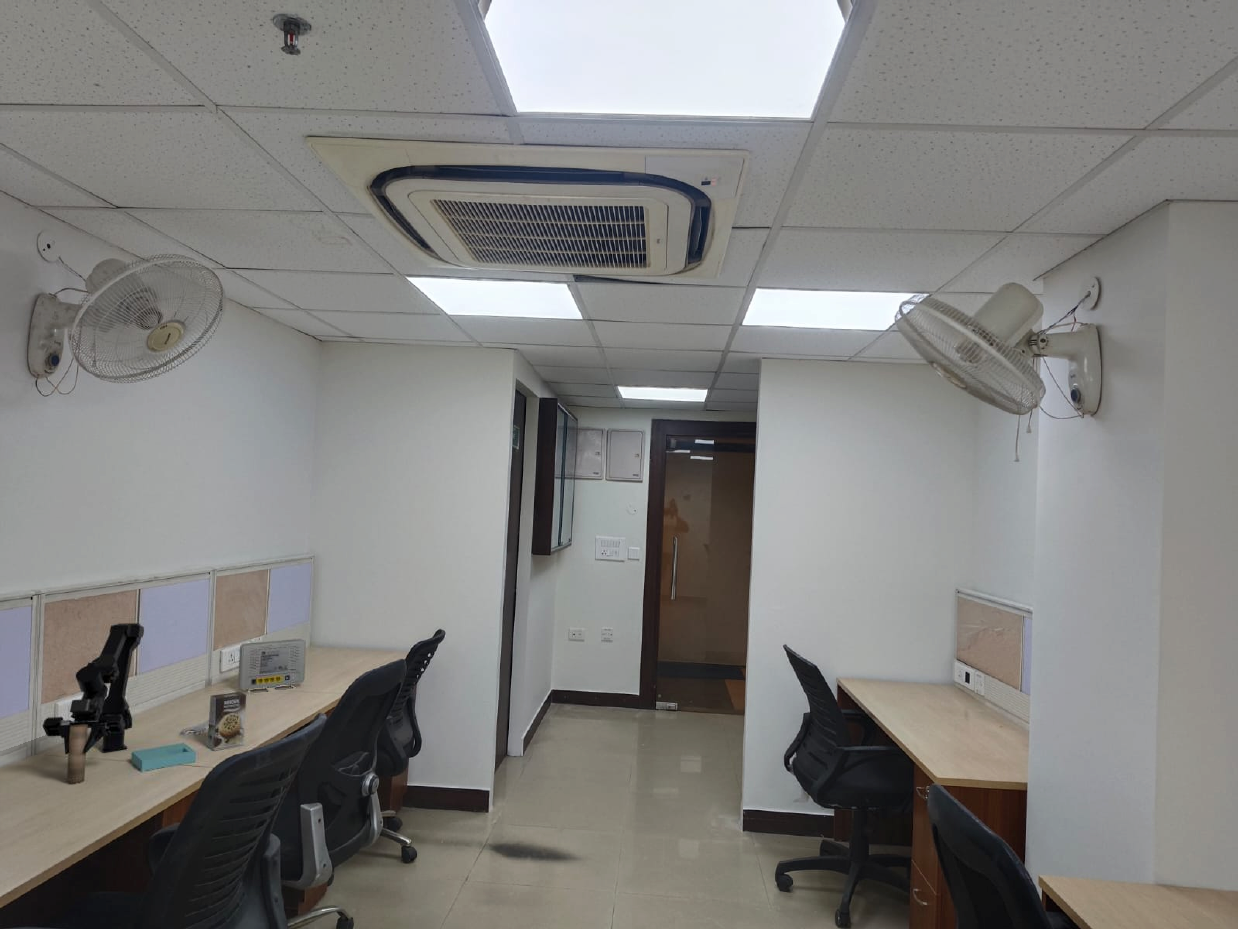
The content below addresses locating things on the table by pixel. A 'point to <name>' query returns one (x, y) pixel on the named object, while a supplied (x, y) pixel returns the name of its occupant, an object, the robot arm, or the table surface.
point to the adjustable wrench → (197, 728)
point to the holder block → (163, 756)
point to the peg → (77, 753)
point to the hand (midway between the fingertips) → (75, 753)
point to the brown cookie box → (226, 721)
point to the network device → (271, 663)
